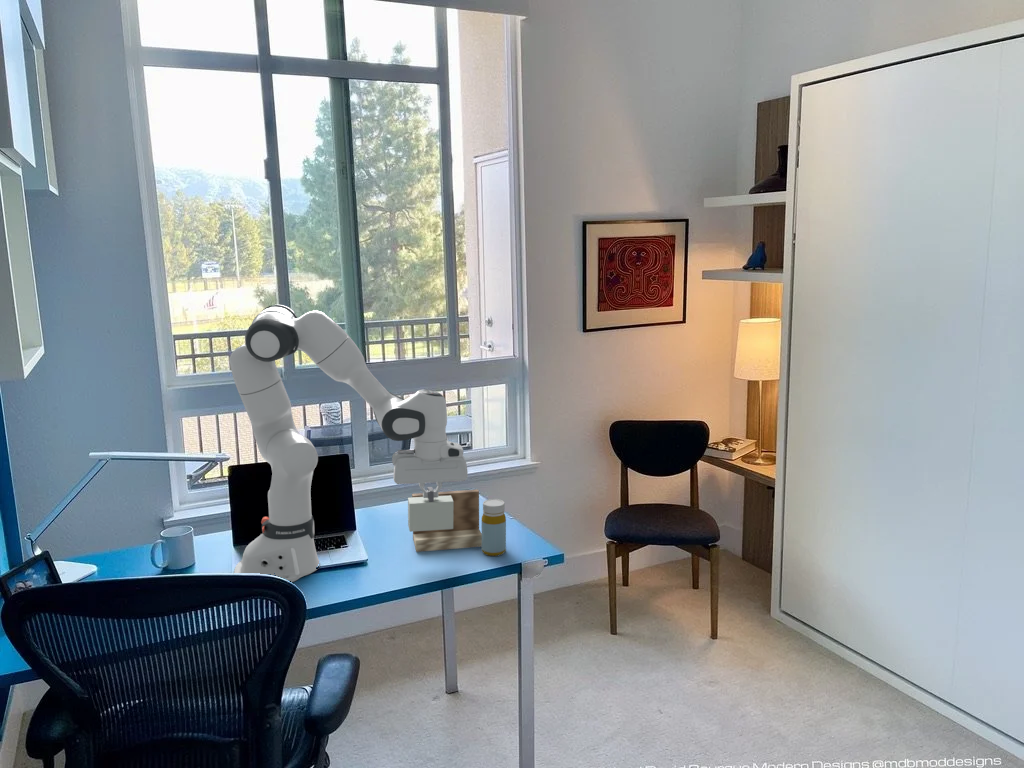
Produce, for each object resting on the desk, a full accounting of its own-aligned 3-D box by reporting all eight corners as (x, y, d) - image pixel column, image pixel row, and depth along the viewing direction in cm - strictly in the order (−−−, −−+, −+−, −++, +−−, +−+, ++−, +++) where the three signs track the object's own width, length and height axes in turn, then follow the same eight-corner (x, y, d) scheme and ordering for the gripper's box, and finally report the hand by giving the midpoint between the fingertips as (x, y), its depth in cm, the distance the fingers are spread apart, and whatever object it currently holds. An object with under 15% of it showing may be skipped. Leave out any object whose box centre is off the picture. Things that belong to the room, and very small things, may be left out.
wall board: (416, 551, 219) (415, 506, 216) (412, 537, 229) (411, 493, 226) (484, 546, 223) (484, 501, 220) (478, 532, 233) (477, 489, 230)
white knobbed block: (409, 531, 207) (409, 493, 205) (408, 524, 212) (407, 487, 210) (453, 528, 209) (453, 490, 207) (450, 522, 214) (451, 485, 212)
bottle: (484, 558, 215) (484, 507, 212) (479, 548, 222) (479, 499, 219) (508, 555, 217) (508, 505, 214) (502, 545, 223) (502, 497, 220)
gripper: (392, 453, 201) (393, 503, 204) (469, 450, 205) (468, 499, 208) (391, 447, 207) (391, 495, 210) (465, 444, 211) (464, 491, 214)
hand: (430, 497), depth 209 cm, fingers closed on white knobbed block
